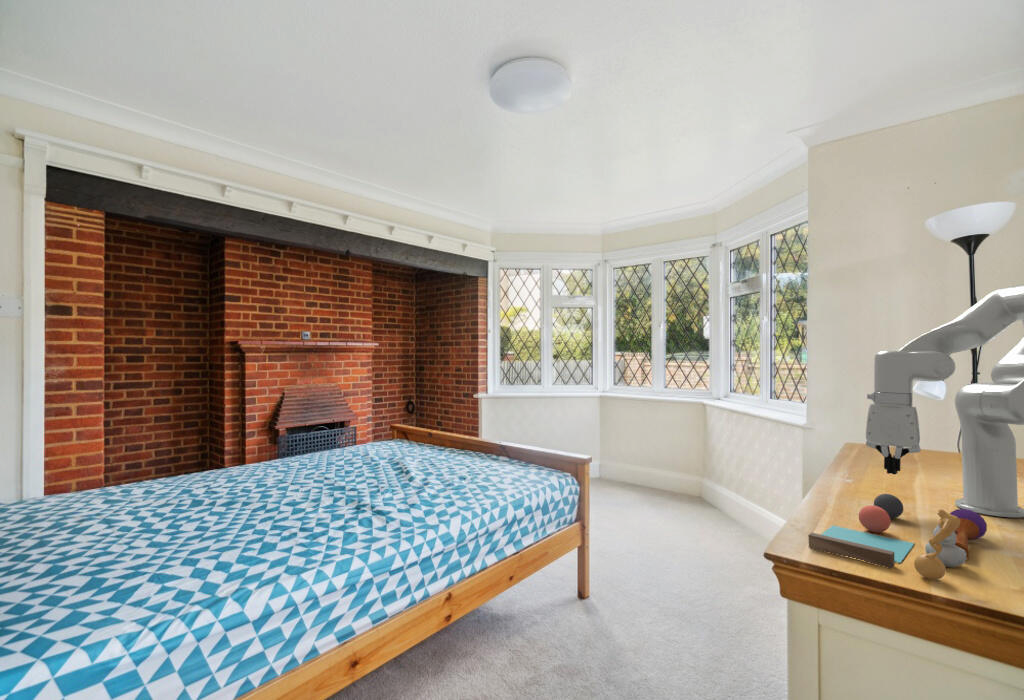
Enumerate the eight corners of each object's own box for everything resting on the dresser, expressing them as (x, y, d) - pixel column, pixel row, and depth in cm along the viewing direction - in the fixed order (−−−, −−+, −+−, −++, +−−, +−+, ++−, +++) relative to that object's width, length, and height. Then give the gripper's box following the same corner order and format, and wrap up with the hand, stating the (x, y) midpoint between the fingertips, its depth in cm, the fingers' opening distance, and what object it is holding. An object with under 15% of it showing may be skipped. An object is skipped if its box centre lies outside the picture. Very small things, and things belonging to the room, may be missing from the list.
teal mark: (832, 526, 105) (832, 525, 105) (914, 544, 94) (914, 543, 94) (812, 541, 95) (812, 540, 95) (900, 563, 85) (900, 562, 85)
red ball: (862, 525, 105) (861, 500, 106) (893, 531, 101) (892, 506, 101) (856, 531, 102) (855, 505, 102) (887, 538, 98) (887, 511, 98)
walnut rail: (812, 545, 94) (811, 532, 94) (894, 565, 84) (894, 551, 84) (808, 547, 92) (808, 534, 93) (892, 569, 83) (891, 554, 83)
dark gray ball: (876, 512, 115) (876, 489, 115) (905, 518, 110) (905, 494, 111) (871, 517, 111) (870, 494, 111) (901, 523, 107) (900, 498, 107)
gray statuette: (922, 564, 85) (921, 519, 85) (930, 555, 89) (928, 512, 89) (963, 574, 81) (962, 527, 81) (969, 564, 85) (968, 519, 85)
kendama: (931, 533, 90) (945, 505, 103) (940, 565, 89) (953, 532, 102) (973, 536, 85) (983, 506, 99) (983, 570, 85) (991, 535, 98)
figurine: (922, 568, 83) (920, 500, 83) (969, 581, 78) (966, 508, 79) (906, 580, 78) (904, 508, 79) (955, 595, 73) (953, 517, 74)
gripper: (853, 398, 121) (852, 469, 120) (929, 402, 110) (929, 481, 109) (860, 397, 126) (859, 466, 125) (934, 402, 115) (934, 477, 114)
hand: (892, 473), depth 117 cm, fingers closed
